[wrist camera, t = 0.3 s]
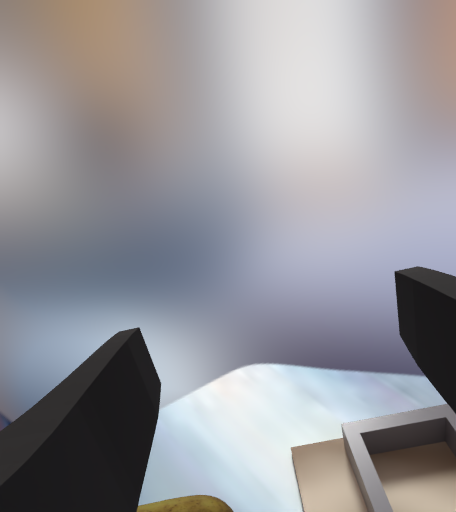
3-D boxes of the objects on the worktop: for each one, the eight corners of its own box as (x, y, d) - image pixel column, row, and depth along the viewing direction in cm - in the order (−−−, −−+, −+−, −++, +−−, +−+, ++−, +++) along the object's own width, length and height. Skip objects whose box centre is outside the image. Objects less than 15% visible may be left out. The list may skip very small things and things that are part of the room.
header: (545, 560, 19) (551, 534, 18) (394, 584, 20) (393, 560, 19) (449, 424, 27) (450, 400, 26) (343, 444, 28) (340, 421, 27)
